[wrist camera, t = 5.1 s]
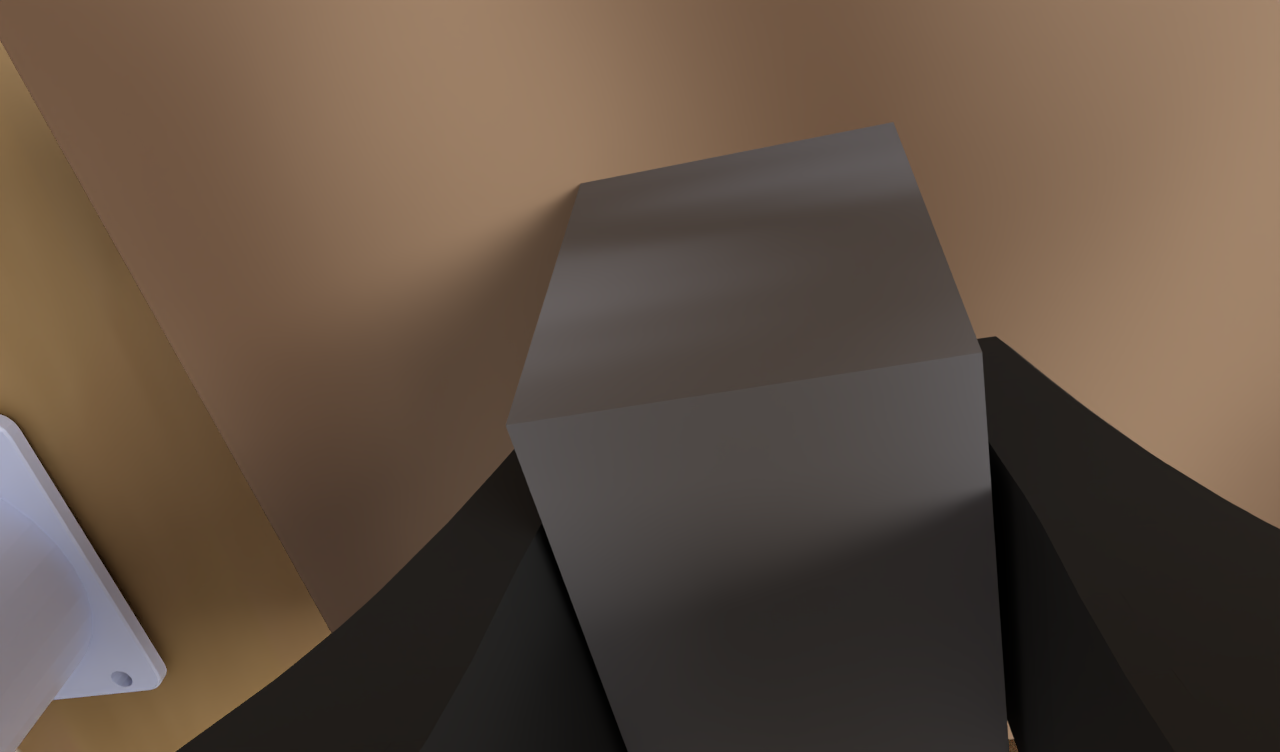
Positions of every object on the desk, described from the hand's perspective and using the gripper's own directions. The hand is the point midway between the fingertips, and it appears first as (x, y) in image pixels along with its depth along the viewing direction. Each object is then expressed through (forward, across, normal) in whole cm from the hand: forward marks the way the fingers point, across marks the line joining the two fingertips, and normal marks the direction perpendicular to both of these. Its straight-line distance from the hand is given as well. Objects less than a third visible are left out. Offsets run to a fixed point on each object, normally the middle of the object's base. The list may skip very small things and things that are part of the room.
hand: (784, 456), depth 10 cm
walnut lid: (+2, 0, 0) cm, 2 cm away
